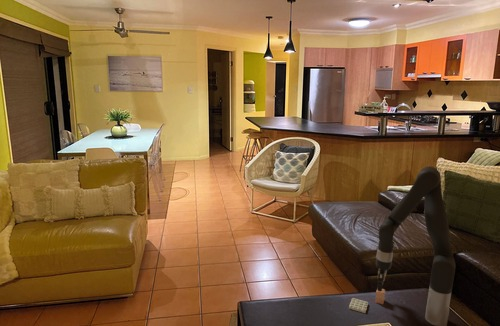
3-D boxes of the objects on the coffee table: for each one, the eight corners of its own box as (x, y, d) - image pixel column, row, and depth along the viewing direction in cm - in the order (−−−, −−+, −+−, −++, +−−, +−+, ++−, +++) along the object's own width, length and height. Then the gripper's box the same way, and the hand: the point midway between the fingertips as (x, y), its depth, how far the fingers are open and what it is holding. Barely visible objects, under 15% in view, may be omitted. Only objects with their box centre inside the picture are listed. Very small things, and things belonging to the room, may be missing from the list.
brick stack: (384, 300, 187) (385, 289, 186) (383, 304, 184) (384, 293, 182) (376, 298, 189) (377, 287, 188) (375, 302, 186) (376, 291, 184)
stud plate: (367, 304, 184) (368, 301, 183) (365, 313, 177) (365, 310, 177) (352, 299, 187) (352, 297, 187) (348, 308, 180) (349, 305, 180)
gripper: (390, 266, 173) (386, 295, 177) (393, 253, 185) (389, 281, 189) (374, 262, 176) (370, 291, 180) (378, 250, 188) (374, 277, 192)
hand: (380, 286), depth 185 cm, fingers open, 8 cm apart
